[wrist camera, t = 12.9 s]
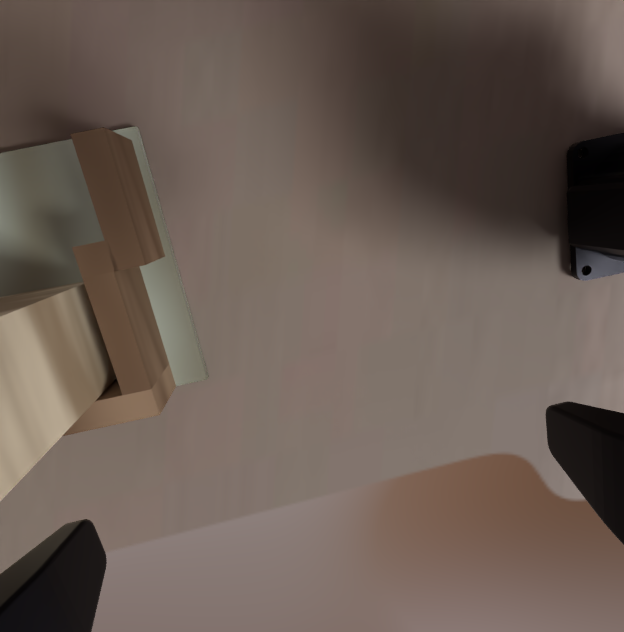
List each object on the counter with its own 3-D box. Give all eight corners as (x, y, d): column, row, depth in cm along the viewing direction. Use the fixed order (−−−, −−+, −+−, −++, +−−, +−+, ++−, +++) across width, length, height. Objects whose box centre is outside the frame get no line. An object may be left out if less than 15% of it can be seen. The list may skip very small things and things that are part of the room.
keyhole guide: (138, 127, 18) (107, 110, 15) (208, 376, 21) (196, 407, 18) (-143, 184, 18) (-237, 178, 15) (-32, 427, 21) (-89, 468, 18)
